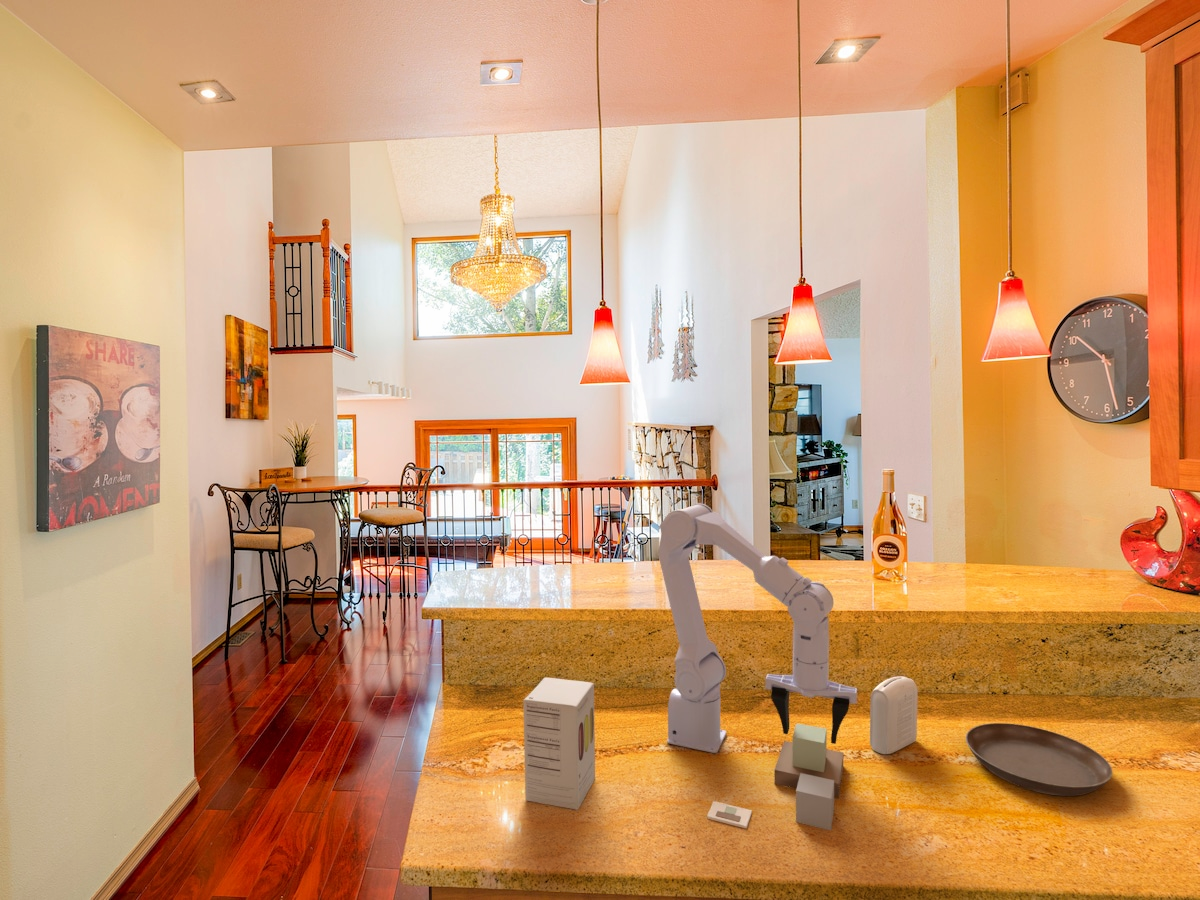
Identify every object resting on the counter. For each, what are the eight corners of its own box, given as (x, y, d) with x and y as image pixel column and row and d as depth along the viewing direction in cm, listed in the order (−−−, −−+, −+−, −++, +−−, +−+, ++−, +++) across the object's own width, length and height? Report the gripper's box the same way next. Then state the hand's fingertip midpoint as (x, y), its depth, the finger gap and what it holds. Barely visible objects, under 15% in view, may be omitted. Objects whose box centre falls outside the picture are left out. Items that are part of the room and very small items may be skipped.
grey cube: (795, 822, 97) (796, 790, 96) (800, 803, 101) (800, 773, 101) (830, 831, 95) (831, 798, 94) (833, 811, 99) (834, 780, 99)
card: (707, 818, 98) (707, 815, 98) (713, 803, 101) (713, 800, 101) (746, 828, 95) (746, 825, 95) (751, 812, 99) (751, 809, 99)
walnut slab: (774, 787, 106) (774, 769, 106) (784, 756, 116) (784, 740, 115) (838, 801, 102) (838, 783, 102) (843, 769, 111) (843, 752, 111)
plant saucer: (955, 730, 123) (955, 713, 123) (1084, 748, 116) (1084, 730, 116) (979, 792, 104) (979, 772, 103) (1135, 818, 97) (1136, 797, 97)
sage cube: (792, 765, 107) (792, 737, 107) (795, 750, 112) (796, 723, 111) (823, 772, 105) (824, 743, 105) (826, 756, 110) (826, 728, 109)
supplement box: (578, 811, 100) (576, 707, 99) (523, 802, 103) (521, 700, 101) (596, 777, 109) (595, 681, 108) (546, 769, 112) (544, 675, 111)
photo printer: (898, 731, 123) (899, 668, 122) (920, 741, 119) (921, 676, 118) (865, 748, 117) (866, 682, 116) (887, 758, 113) (888, 690, 113)
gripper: (762, 659, 107) (761, 738, 108) (856, 673, 101) (854, 757, 102) (769, 644, 113) (769, 719, 114) (858, 657, 107) (856, 735, 108)
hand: (809, 735), depth 108 cm, fingers open, 7 cm apart
